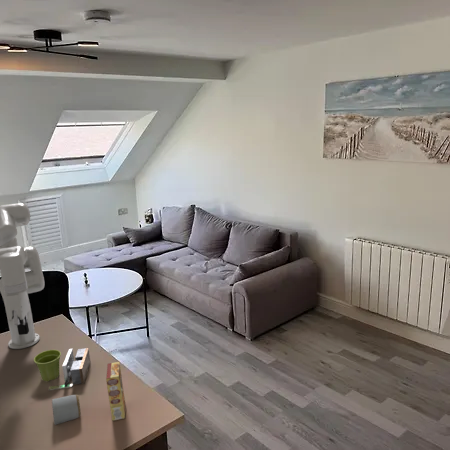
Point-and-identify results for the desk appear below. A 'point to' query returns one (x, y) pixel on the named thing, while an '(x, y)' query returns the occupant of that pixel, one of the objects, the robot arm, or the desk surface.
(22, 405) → the desk surface
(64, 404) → the ceramic mug
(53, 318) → the desk surface
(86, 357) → the grey slotted box
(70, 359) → the grey flat bar
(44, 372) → the plant pot
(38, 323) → the desk surface
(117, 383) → the candy box
